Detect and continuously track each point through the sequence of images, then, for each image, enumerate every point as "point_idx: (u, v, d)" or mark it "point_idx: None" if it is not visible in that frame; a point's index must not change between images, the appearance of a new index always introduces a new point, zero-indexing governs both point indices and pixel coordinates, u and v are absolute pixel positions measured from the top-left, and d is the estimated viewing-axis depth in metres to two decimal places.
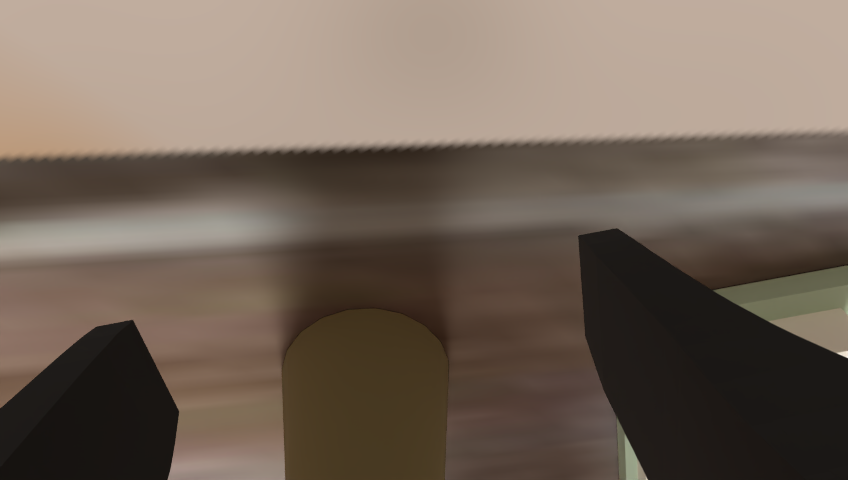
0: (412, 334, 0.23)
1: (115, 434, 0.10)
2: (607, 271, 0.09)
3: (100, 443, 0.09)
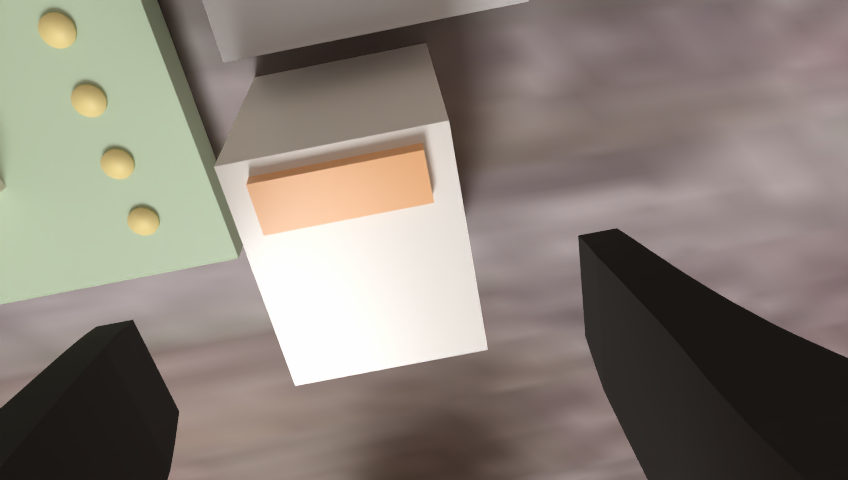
0: None
1: (115, 434, 0.10)
2: (607, 271, 0.09)
3: (101, 444, 0.09)
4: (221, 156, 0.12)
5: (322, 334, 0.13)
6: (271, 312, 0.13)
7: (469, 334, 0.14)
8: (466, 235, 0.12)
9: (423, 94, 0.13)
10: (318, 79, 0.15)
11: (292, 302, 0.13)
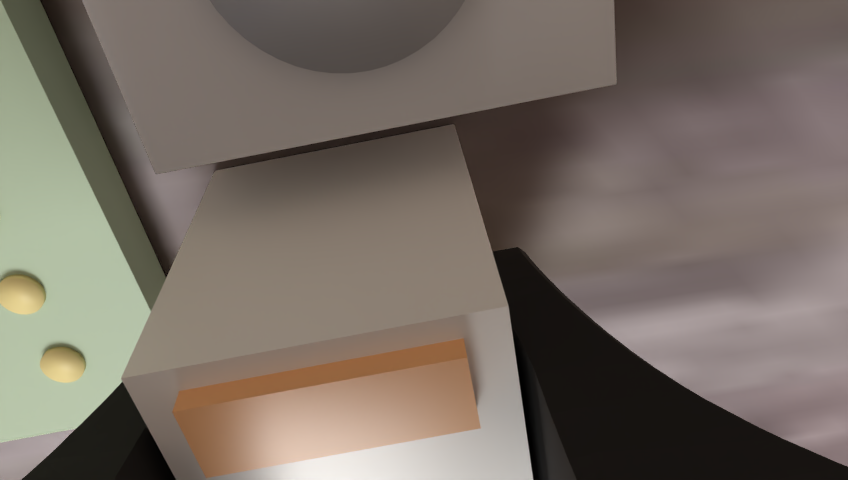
0: None
1: None
2: None
3: None
4: (137, 351, 0.07)
5: None
6: None
7: None
8: (527, 459, 0.08)
9: (459, 236, 0.08)
10: (301, 185, 0.10)
11: None
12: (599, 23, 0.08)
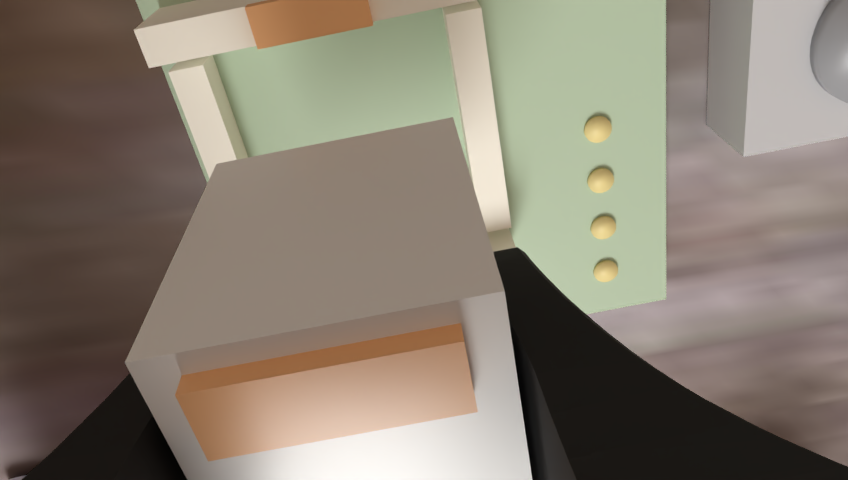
0: None
1: None
2: None
3: None
4: (140, 337, 0.07)
5: None
6: None
7: None
8: (524, 443, 0.08)
9: (457, 224, 0.08)
10: (302, 177, 0.10)
11: None
12: None
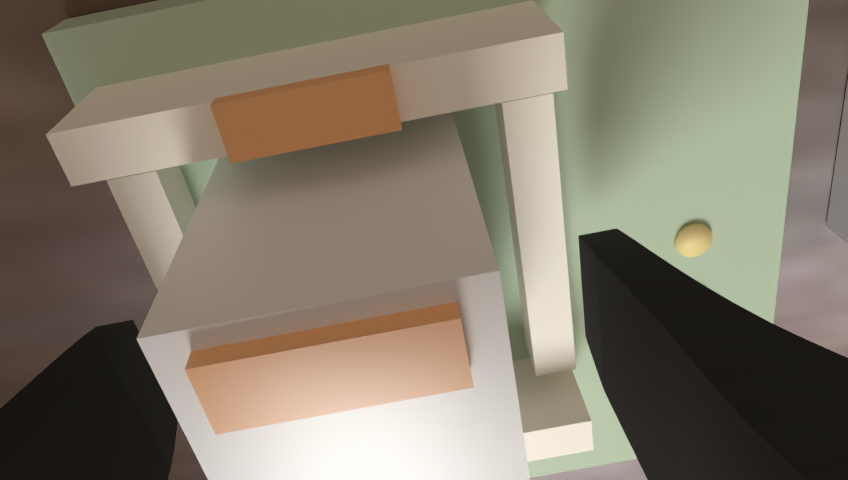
0: None
1: (115, 434, 0.10)
2: (607, 271, 0.09)
3: (100, 443, 0.09)
4: (150, 315, 0.08)
5: None
6: None
7: None
8: (518, 420, 0.08)
9: (454, 210, 0.09)
10: (304, 166, 0.11)
11: None
12: None
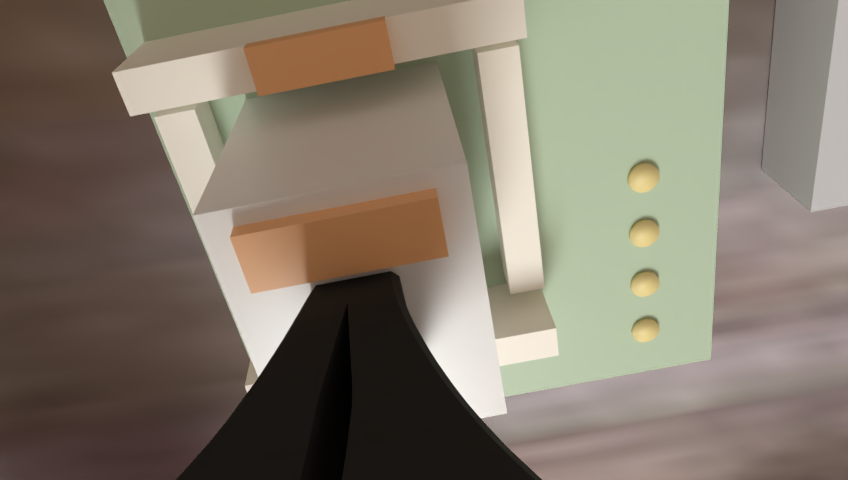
0: None
1: None
2: (349, 319, 0.09)
3: None
4: (202, 202, 0.10)
5: None
6: None
7: (486, 397, 0.12)
8: (485, 290, 0.11)
9: (435, 127, 0.11)
10: (316, 105, 0.13)
11: None
12: None
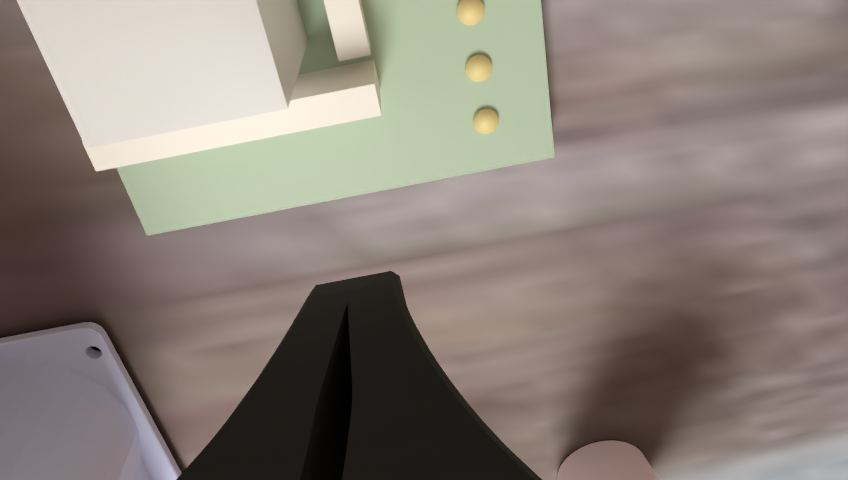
0: None
1: None
2: (349, 319, 0.09)
3: None
4: None
5: (104, 82, 0.13)
6: (45, 52, 0.12)
7: (265, 88, 0.13)
8: None
9: None
10: None
11: (65, 40, 0.12)
12: None
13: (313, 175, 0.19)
